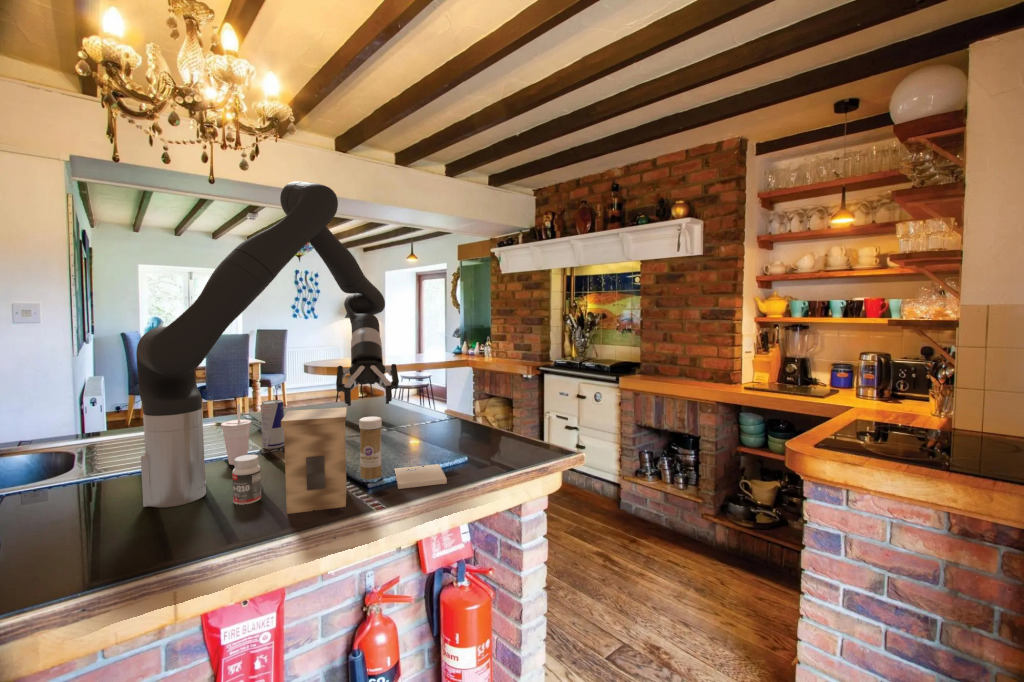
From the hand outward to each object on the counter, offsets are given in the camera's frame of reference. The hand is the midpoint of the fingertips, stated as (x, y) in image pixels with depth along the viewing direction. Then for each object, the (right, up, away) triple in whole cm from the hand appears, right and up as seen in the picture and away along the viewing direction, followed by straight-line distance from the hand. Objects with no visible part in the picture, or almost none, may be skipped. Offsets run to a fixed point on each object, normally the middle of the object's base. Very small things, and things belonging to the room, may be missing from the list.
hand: (368, 403), depth 111 cm
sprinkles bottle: (+3, -16, -8) cm, 18 cm away
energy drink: (-30, -14, +16) cm, 37 cm away
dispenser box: (-4, -16, -20) cm, 26 cm away
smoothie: (-32, -15, +3) cm, 36 cm away
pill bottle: (-18, -16, -19) cm, 31 cm away
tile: (+13, -15, -7) cm, 21 cm away
